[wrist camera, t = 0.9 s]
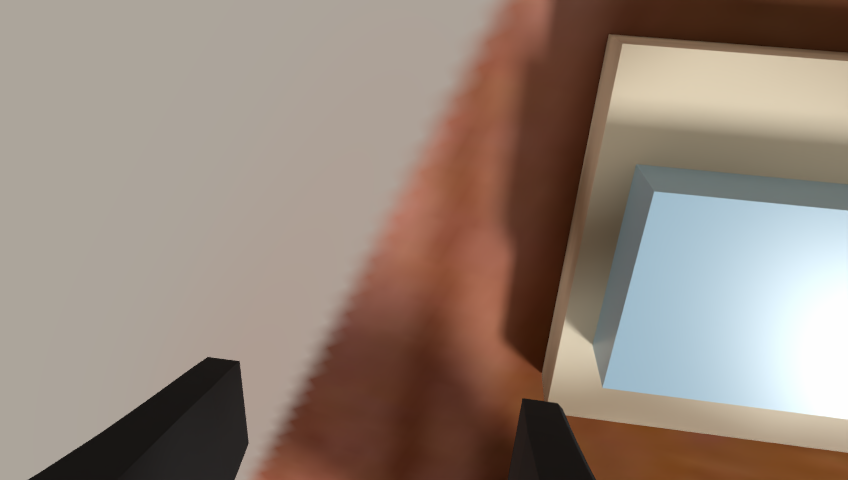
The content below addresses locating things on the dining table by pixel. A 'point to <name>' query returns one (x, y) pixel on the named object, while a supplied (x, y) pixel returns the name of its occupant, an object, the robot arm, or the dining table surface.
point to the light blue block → (729, 292)
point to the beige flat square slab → (698, 150)
